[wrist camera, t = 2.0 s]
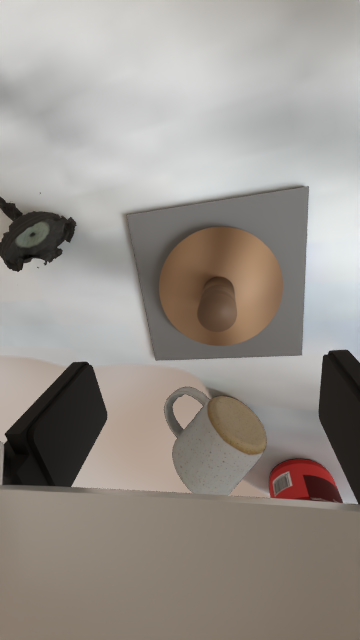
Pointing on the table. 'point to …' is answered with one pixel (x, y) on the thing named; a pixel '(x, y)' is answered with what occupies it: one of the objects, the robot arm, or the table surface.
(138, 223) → the mat
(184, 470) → the ceramic mug
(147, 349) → the table surface
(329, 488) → the canned food
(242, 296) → the lid
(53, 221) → the artificial flower
